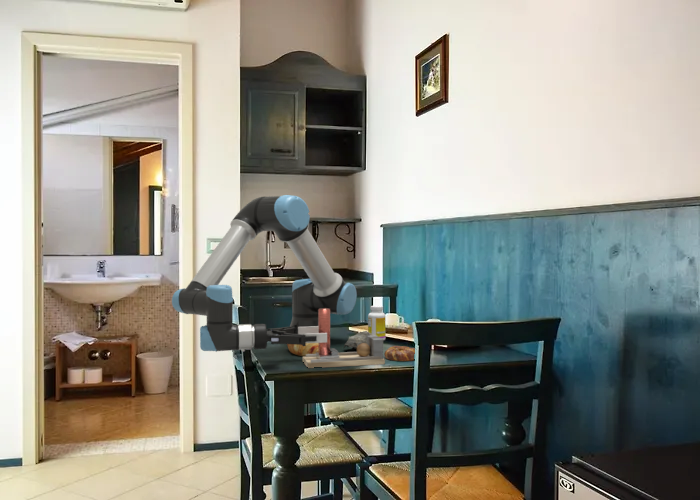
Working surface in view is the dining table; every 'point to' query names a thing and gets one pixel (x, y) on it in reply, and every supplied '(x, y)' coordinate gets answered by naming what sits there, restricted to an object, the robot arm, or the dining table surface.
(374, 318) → the supplement bottle
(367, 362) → the base
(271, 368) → the dining table surface
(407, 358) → the pretzel
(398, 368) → the dining table surface
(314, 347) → the croissant
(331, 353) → the handle
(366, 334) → the rock
